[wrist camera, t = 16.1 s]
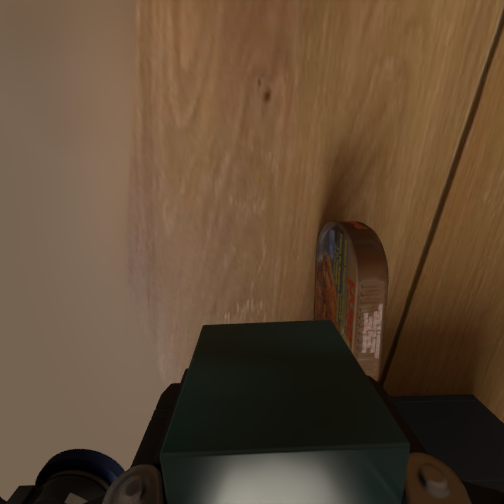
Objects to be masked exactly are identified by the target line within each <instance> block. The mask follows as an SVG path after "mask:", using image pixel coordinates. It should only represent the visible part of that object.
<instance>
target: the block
mask: <svg viewBox="0 0 504 504" xmlns="http://www.w3.org/2000/svg"><path fill="white" fill-rule="evenodd" d="M409 452H410V443H409V441H408V440H407V438H406V437H405V435H404V433H403V432H402V430H401V429H400V427H399V426H398V424H397V422H396V421H395V419H394V418H393V416H392V415H391V413H390V411H389V410H388V408H387V407H386V405H385V404H384V402H383V400H382V399H381V397H380V396H379V394H378V393H377V391H376V389H375V388H374V386H373V385H372V383H371V382H370V380H369V378H368V377H367V375H366V374H365V372H364V371H363V369H362V367H361V366H360V364H359V363H358V361H357V360H356V358H355V356H354V355H353V353H352V352H351V350H350V349H349V347H348V345H347V344H346V342H345V341H344V339H343V337H342V336H341V334H340V333H339V331H338V330H337V328H336V326H335V325H334V323H333V322H332V320H314V321H290V322H266V323H243V324H219V325H203V327H202V330H201V333H200V336H199V339H198V342H197V345H196V348H195V351H194V354H193V357H192V360H191V363H190V366H189V369H188V372H187V375H186V378H185V381H184V384H183V387H182V390H181V393H180V396H179V398H178V401H177V404H176V407H175V410H174V413H173V416H172V419H171V422H170V425H169V428H168V431H167V434H166V437H165V440H164V443H163V446H162V449H161V452H160V462H161V468H162V474H163V481H164V487H165V493H166V499H167V504H402V502H403V495H404V488H405V481H406V473H407V466H408V459H409Z"/></svg>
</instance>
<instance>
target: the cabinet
mask: <svg viewBox="0 0 504 504" xmlns="http://www.w3.org/2000/svg"><path fill="white" fill-rule="evenodd" d="M390 400H392V402H393V403H394V405H395V406H396V407H397V410H399V412H400V413H401V415H402V416H403V418H404V419H405V421H406V422H407V424H408V425H409V427H410V428H411V430H412V431H413V432H414V434H415V435H416V437H417V438H418V440H419V441H420V443H421V444H422V446H423V447H424V449H425V450H426V452H427V453H428V454H429V455H430V456H433V457H435V458H437V459H438V460H440V461H442V462H443V463H444V464H446V465H447V466H448V467H449V468H451V469H452V470H453V471H454V472H455V473H456V475H457V476H458V477H459V478H460V479H461V480H464V481H466V482H469V483H472V484H476V485H479V486H483V487H487V488H490V489H494V490H497V491H501V492H504V423H503V422H501V421H500V420H499V419H498V418H497V417H496V416H495V415H494V414H493V413H492V412H491V411H490V410H489V409H488V408H486V407H485V406H484V405H483V404H482V403H481V402H480V401H479V400H478V399H477V398H476V397H475V396H474V395H450V396H415V397H390Z"/></svg>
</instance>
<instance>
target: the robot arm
mask: <svg viewBox="0 0 504 504" xmlns="http://www.w3.org/2000/svg"><path fill="white" fill-rule="evenodd" d="M188 369H189V368H188ZM188 369H186V370H185V372H184V375H183V378H182V380H181V383H173V384H171V385H170V386H169V387H168V388H167V389H166V390H165V391H164V392H163V393H162V394H161V397H160V399H159V401H158V404H157V406H156V410H155V411H154V413H153V416H152V419H151V421H150V423H149V425H148V427H147V430H146V432H145V434H144V437H143V439H142V441H141V444H140V446H139V449H138V451H137V453H136V456H135V458H134V460H133V463H132V465H131V467H130V469H128V470H127V471H125V472H124V473H122V474H121V475H120V476H119V477H118V478H117V479H116V480H115V481H114V482H113V483H112V485H111V483H110V482H109V481H108V480H107V479H106V478H105V477H104V476H102V475H101V474H99V473H98V472H96V471H93V470H91V469H87V468H83V467H66V468H62V469H59V470H57V471H55V472H53V473H52V474H51V475H50V476H44V477H41V479H40V480H39V481H38V483H37V484H36V485H31V486H19V487H18V488H17V489H16V491H15V492H14V493H13V495H12V496H11V497H10V498H9V500H8V501H5V500H3V499H2V498H1V497H0V504H167V499H166V493H165V487H164V481H163V474H162V468H161V462H160V452H161V449H162V446H163V443H164V440H165V437H166V434H167V431H168V428H169V425H170V422H171V419H172V416H173V413H174V410H175V407H176V404H177V401H178V398H179V396H180V393H181V390H182V387H183V384H184V381H185V378H186V375H187V372H188ZM367 377H368V378H369V380H370V382H371V383H372V385H373V386H374V388H375V389H376V391H377V393H378V394H379V396H380V397H381V399H382V400H383V402H384V404H385V405H386V407H387V408H388V410H389V411H390V413H391V415H392V416H393V418H394V419H395V421H396V422H397V424H398V426H399V427H400V429H401V430H402V432H403V433H404V435H405V437H406V438H407V440H408V441H409V443H410V452H409V459H408V466H407V473H406V481H405V488H404V495H403V502H402V504H504V492H501V491H497V490H494V489H490V488H487V487H483V486H479V485H476V484H472V483H469V482H466V481H464V480H461V479H460V478H459V477H458V476H457V475H456V473H455V472H454V471H453V470H452V469H451V468H449V467H448V466H447V465H446V464H444V463H443V462H442V461H440V460H438V459H437V458H435V457H433V456H430V455H429V454H428V453H427V452H426V450H425V449H424V447H423V446H422V444H421V443H420V441H419V440H418V438H417V437H416V435H415V434H414V432H413V431H412V430H411V428H410V427H409V425H408V424H407V422H406V421H405V419H404V418H403V416H402V415H401V413H400V412H399V410H397V407H396V406H395V405H394V403H393V402H392V400H390V397H389V396H388V394H387V393H386V391H385V390H384V388H383V387H382V385H380V384H379V383H378V382H377V381H375V380H374V379H373V378H372V377H371V376H369V375H368V376H367Z"/></svg>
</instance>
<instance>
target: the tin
mask: <svg viewBox="0 0 504 504" xmlns="http://www.w3.org/2000/svg"><path fill="white" fill-rule="evenodd" d="M387 293H388V265H387V259H386V255H385V252H384V249H383V246H382V244H381V241H380V239H379V238H378V236H377V234H376V233H375V231H374V230H373V229H371V228H370V227H368V226H367V225H365V224H363V223H361V222H357V221H349V222H337V221H330V222H328V223H326V224H325V226H324V227H323V229H322V231H321V233H320V235H319V238H318V243H317V251H316V277H315V313H314V320H332V322H333V323H334V325H335V326H336V328H337V330H338V331H339V333H340V334H341V336H342V337H343V339H344V341H345V342H346V344H347V345H348V347H349V349H350V350H351V352H352V353H353V355H354V356H355V358H356V360H357V361H358V363H359V364H360V366H361V367H362V369H363V371H364V372H365V374H366V375H367V376H368V375H369V376H371V377H372V378H373V379H374V380H375V381H377V380H378V378H379V374H380V365H381V356H382V346H383V336H384V326H385V315H386V304H387Z"/></svg>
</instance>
